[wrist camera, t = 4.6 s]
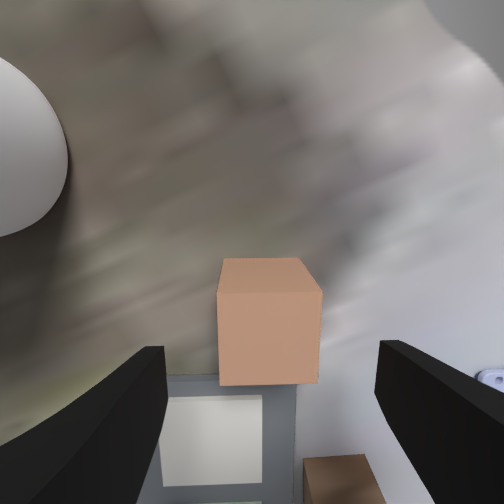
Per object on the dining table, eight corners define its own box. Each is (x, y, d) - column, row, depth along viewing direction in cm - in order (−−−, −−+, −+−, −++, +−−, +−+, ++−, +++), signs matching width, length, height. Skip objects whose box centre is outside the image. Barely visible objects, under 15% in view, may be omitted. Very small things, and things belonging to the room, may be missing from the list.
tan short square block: (298, 257, 16) (322, 291, 11) (296, 325, 17) (317, 383, 12) (224, 258, 16) (216, 293, 11) (226, 326, 17) (219, 385, 12)
